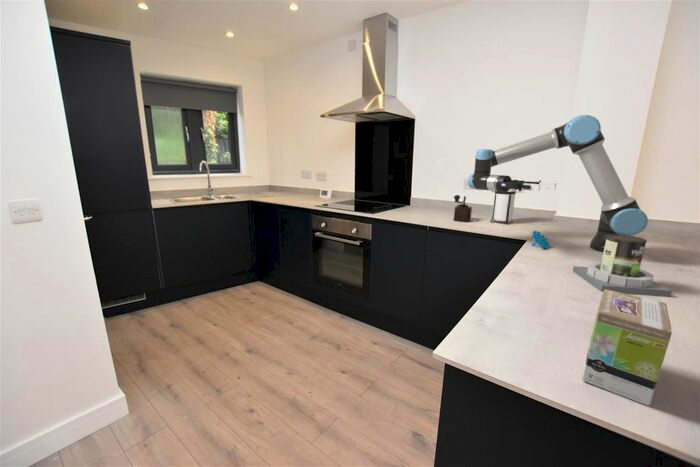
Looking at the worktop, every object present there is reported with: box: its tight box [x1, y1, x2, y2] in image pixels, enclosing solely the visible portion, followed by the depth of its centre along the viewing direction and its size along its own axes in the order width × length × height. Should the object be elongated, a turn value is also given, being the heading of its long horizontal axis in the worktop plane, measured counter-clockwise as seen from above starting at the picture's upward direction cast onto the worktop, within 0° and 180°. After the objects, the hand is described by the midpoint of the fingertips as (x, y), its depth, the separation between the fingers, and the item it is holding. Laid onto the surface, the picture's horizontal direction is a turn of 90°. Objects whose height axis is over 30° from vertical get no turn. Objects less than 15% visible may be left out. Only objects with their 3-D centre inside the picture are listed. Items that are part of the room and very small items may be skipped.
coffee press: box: [489, 189, 517, 225], centre depth 207 cm, size 17×16×30 cm
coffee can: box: [600, 234, 648, 278], centre depth 107 cm, size 10×10×14 cm
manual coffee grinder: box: [453, 194, 473, 223], centre depth 211 cm, size 16×11×18 cm
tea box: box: [581, 289, 673, 406], centre depth 61 cm, size 15×10×15 cm, turn 138°
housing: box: [572, 261, 672, 298], centre depth 108 cm, size 19×19×4 cm
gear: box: [531, 230, 550, 250], centre depth 152 cm, size 11×6×10 cm
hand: (547, 187), depth 131 cm, fingers open, 13 cm apart
